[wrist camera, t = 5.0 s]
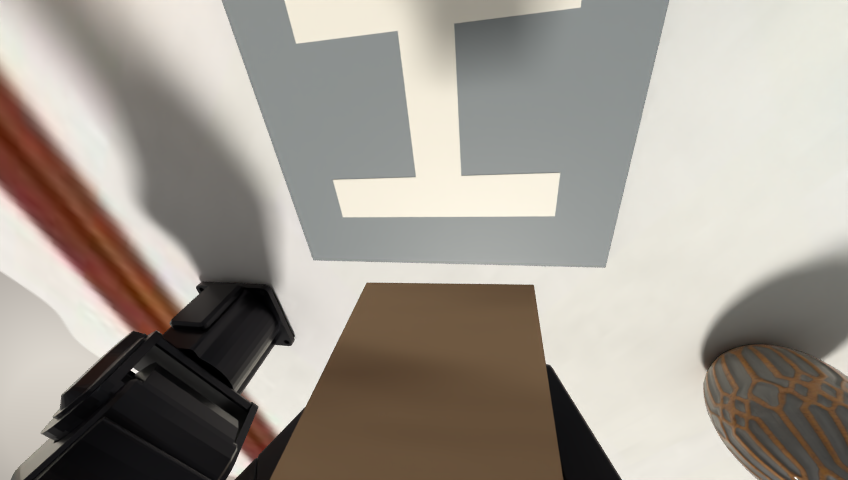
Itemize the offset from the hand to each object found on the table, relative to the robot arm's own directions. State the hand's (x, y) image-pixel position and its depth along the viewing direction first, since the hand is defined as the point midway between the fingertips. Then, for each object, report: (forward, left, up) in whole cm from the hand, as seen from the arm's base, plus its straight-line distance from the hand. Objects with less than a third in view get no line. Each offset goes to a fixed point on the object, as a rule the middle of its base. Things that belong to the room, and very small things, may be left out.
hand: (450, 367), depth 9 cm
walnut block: (0, 0, -1) cm, 1 cm away
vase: (-12, -17, -11) cm, 24 cm away
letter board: (+5, +2, -11) cm, 12 cm away
